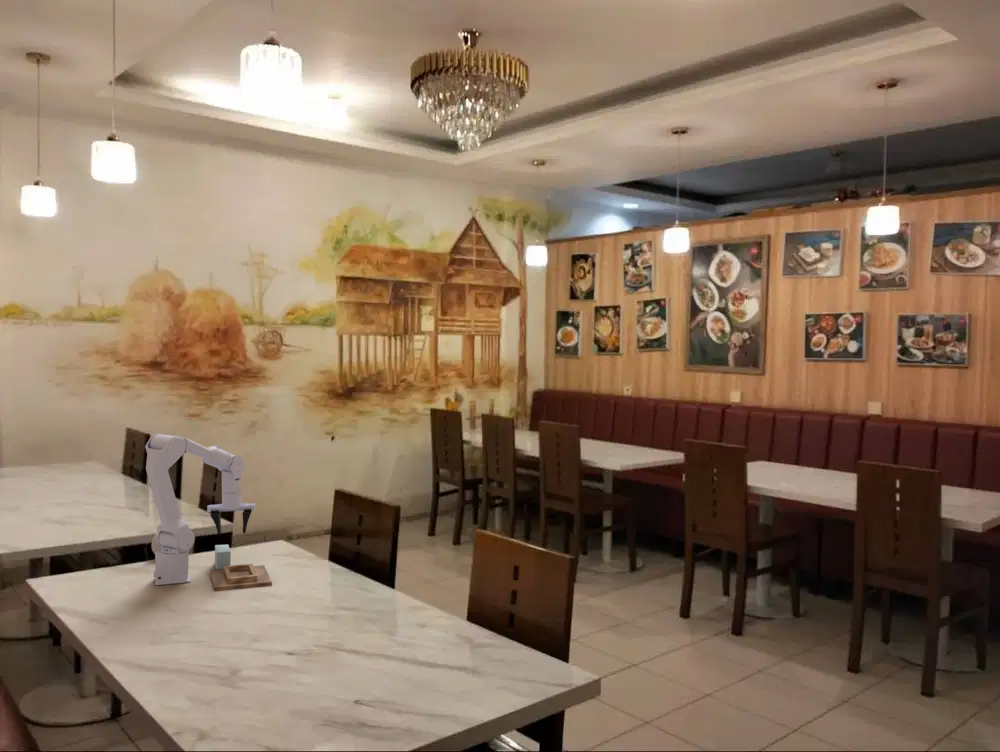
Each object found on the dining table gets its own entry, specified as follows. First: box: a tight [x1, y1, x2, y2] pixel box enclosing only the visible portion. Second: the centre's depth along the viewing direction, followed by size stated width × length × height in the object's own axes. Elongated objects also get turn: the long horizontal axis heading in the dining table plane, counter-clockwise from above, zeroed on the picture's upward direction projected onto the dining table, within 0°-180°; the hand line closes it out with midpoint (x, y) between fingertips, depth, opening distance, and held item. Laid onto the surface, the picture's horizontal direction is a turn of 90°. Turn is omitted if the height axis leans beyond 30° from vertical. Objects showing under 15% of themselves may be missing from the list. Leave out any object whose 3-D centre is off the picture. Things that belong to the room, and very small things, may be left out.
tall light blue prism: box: [214, 544, 232, 569], centre depth 238 cm, size 4×9×6 cm, turn 24°
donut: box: [151, 531, 162, 555], centre depth 246 cm, size 10×4×10 cm, turn 139°
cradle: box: [209, 563, 273, 592], centre depth 226 cm, size 16×18×2 cm
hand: (231, 533), depth 242 cm, fingers open, 7 cm apart
